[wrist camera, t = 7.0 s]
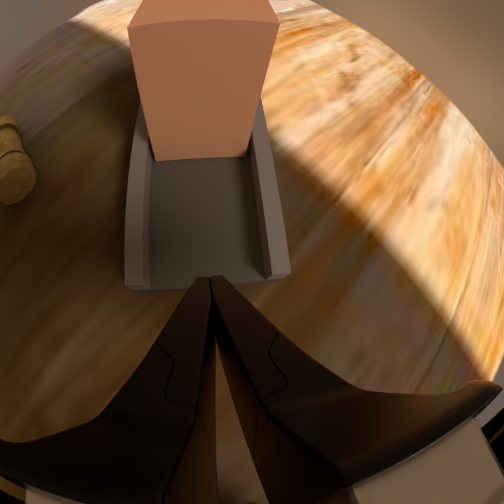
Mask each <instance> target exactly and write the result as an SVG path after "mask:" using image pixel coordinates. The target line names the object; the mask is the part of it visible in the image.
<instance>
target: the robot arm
mask: <svg viewBox="0 0 504 504" xmlns="http://www.w3.org/2000/svg"><path fill="white" fill-rule="evenodd" d="M215 337H216V340H215ZM216 343H217V347H218V351H219V354H220V358H221V362H222V365H223V369H224V372H225V376H226V379H227V383H228V386H229V389H230V393H231V396H232V399H233V402H234V406H235V409H236V412H237V415H238V418H239V421H240V424H241V427H242V430H243V434H244V436H245V439H246V442H247V445H248V448H249V451H250V454H251V457H252V459H253V462H254V465H255V468H256V471H257V473H258V476H259V479H260V481H261V484H262V487H263V489H264V492H265V494H266V497H267V499H268V502H269V504H504V408H503V409H501V410H500V411H499V412H498V413H497V414H496V415H495V416H494V417H493V418H492V419H491V420H490V421H489V422H488V423H486V424H485V425H484V426H483V427H482V428H480V426H479V424H478V423H477V421H476V419H475V417H476V416H477V415H478V414H479V413H480V412H481V411H483V410H484V409H485V408H486V407H487V406H488V405H489V404H490V403H491V402H492V401H493V400H494V399H495V398H496V396H497V395H498V394H499V393H500V392H501V391H502V387H501V386H499V385H498V384H495V383H493V382H490V381H482V380H473V381H470V382H469V383H467V384H466V385H464V386H463V387H461V388H459V389H457V390H455V391H453V392H449V393H444V394H432V395H429V394H400V393H385V392H373V391H367V390H363V389H361V388H358V387H356V386H354V385H352V384H350V383H348V382H347V381H345V380H344V379H342V378H341V377H339V376H338V375H336V374H335V373H333V372H332V371H330V370H329V369H327V368H326V367H325V366H323V365H322V364H320V363H319V362H317V361H316V360H314V359H313V358H312V357H310V356H309V355H308V354H306V353H305V352H304V351H302V350H301V349H300V348H299V347H298V346H296V345H295V344H294V343H293V342H292V341H291V340H289V339H288V338H287V337H286V336H285V335H284V334H283V333H282V332H280V331H279V329H277V328H276V327H275V326H274V325H273V324H272V323H271V322H270V321H269V320H268V319H267V318H266V317H265V316H264V315H263V314H262V313H261V312H260V311H259V310H258V309H256V308H255V307H254V306H253V305H252V304H251V303H250V302H249V301H248V300H247V299H246V298H245V297H244V296H243V295H242V294H241V293H240V292H239V291H238V290H237V289H236V288H235V287H234V286H233V285H232V284H231V283H230V282H229V281H228V280H227V279H226V278H225V277H224V276H222V275H217V276H211V277H210V278H209V277H208V276H204V277H197V278H196V279H195V280H194V282H193V283H192V285H191V286H190V288H189V289H188V291H187V292H186V294H185V295H184V297H183V299H182V300H181V302H180V303H179V305H178V306H177V308H176V309H175V311H174V312H173V314H172V316H171V317H170V319H169V320H168V322H167V323H166V325H165V326H164V328H163V330H162V331H161V333H160V334H159V336H158V338H157V339H156V341H155V343H154V344H153V345H152V347H151V349H150V350H149V352H148V353H147V355H146V356H145V358H144V359H143V361H142V362H141V364H140V365H139V366H138V368H137V369H136V370H135V372H134V373H133V374H132V376H131V377H130V378H129V379H128V381H127V382H126V383H125V384H124V385H123V387H122V388H121V389H120V390H119V392H118V393H117V394H116V395H115V397H114V398H113V399H112V400H111V402H110V403H109V404H108V405H107V406H106V408H105V409H104V410H103V411H102V412H101V413H100V414H99V415H98V416H97V417H95V418H94V419H92V420H91V421H89V422H87V423H84V424H82V425H79V426H76V427H74V428H71V429H68V430H65V431H62V432H59V433H56V434H53V435H50V436H47V437H44V438H40V439H37V440H34V441H30V442H24V443H12V442H7V441H4V440H2V439H0V476H2V477H3V478H5V479H7V480H9V481H11V482H12V483H14V484H16V485H18V486H20V487H22V488H24V489H25V500H24V501H22V500H20V499H18V498H16V497H14V496H12V495H10V494H8V493H6V492H4V491H2V490H1V489H0V504H218V492H217V466H216V416H215V372H216Z"/></svg>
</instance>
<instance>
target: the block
mask: <svg viewBox="0 0 504 504" xmlns="http://www.w3.org/2000/svg"><path fill="white" fill-rule="evenodd" d="M279 26H280V23H279V21H278V18H277V16H276V14H275V13H274V11H273V9H272V7H271V5H270V3H269V1H268V0H143V1H142V3H141V5H140V6H139V8H138V10H137V11H136V13H135V15H134V17H133V18H132V20H131V22H130V24H129V26H128V27H127V28H128V35H129V41H130V47H131V53H132V59H133V64H134V69H135V74H136V80H137V84H138V89H139V94H140V98H141V103H142V107H143V112H144V116H145V120H146V124H147V129H148V133H149V137H150V141H151V144H152V148H153V152H154V156H155V160H156V161H167V160H180V159H194V158H213V157H245V156H246V151H247V147H248V143H249V139H250V135H251V131H252V127H253V123H254V119H255V115H256V111H257V107H258V103H259V99H260V95H261V91H262V88H263V84H264V80H265V76H266V72H267V69H268V65H269V61H270V58H271V54H272V50H273V47H274V43H275V40H276V36H277V33H278V29H279Z"/></svg>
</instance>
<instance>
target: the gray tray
mask: <svg viewBox="0 0 504 504" xmlns="http://www.w3.org/2000/svg"><path fill="white" fill-rule="evenodd" d="M124 271H125V286H127V287H129V288H131V289H133V290H135V291H137V292H139V291H156V290H172V289H186V288H190V286H191V285H192V283H193V282H194V280H195V279H196V278H197V277H204V276H208V277H209V278H210V277H211V276H217V275H222V276H224V277H225V278H226V279H227V280H228V281H229V282H230V283H231V284H232V285H237V284H248V283H259V282H269V281H279V280H281V279H282V278H284V277H286V276H287V275H289V274H290V273H291V268H290V261H289V254H288V247H287V241H286V234H285V228H284V222H283V215H282V209H281V203H280V197H279V191H278V185H277V180H276V174H275V168H274V163H273V157H272V152H271V147H270V141H269V136H268V131H267V126H266V121H265V116H264V111H263V106H262V101H261V96H260V99H259V103H258V107H257V111H256V115H255V119H254V123H253V127H252V131H251V135H250V139H249V143H248V147H247V151H246V156H245V157H213V158H194V159H180V160H167V161H156V160H155V156H154V152H153V148H152V144H151V141H150V137H149V133H148V129H147V124H146V120H145V116H144V112H143V107H142V103H141V99H140V104H139V109H138V114H137V119H136V125H135V131H134V137H133V144H132V151H131V159H130V167H129V177H128V187H127V200H126V216H125V245H124Z"/></svg>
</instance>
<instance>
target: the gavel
mask: <svg viewBox="0 0 504 504" xmlns="http://www.w3.org/2000/svg"><path fill="white" fill-rule="evenodd" d="M20 137H21V133H20V129H19V126H18V123H17V121H16V119H15V118H13V117H11V116H2V117H0V202H1V203H3V204H6V205H12V204H16V203H18V202H20V201H21V200H22V199H23V198H24V197H25V196H26V195H27V194H28V193H29V192H30V191H31V190H32V189H33V187H34V186H35V184H36V178H37V175H36V171H35V169H34V167H33V164H32V162H31V159H30V158H29V157H28V156H27V155H26V154H25V152H24V149H23V146H22V143H21V140H20Z"/></svg>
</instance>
